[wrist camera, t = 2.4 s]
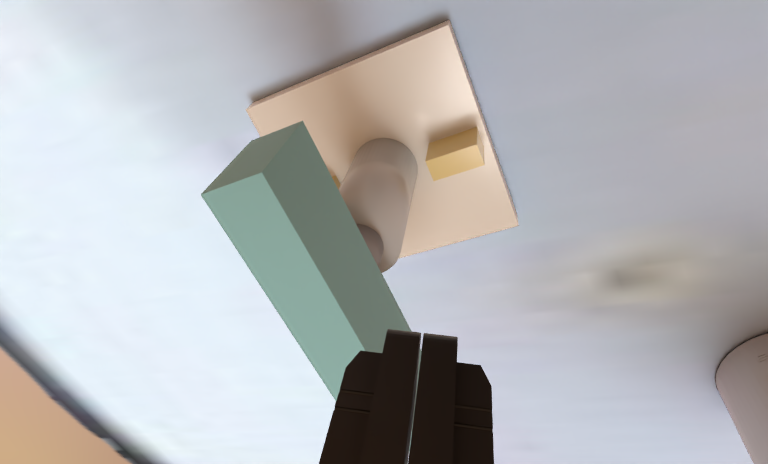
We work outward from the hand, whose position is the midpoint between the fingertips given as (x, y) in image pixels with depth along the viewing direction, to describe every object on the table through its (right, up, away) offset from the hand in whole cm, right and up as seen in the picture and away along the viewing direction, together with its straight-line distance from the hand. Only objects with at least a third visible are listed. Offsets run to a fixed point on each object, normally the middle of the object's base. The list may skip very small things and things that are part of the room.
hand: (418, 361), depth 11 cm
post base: (0, +8, +25) cm, 26 cm away
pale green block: (-2, +2, +16) cm, 16 cm away
